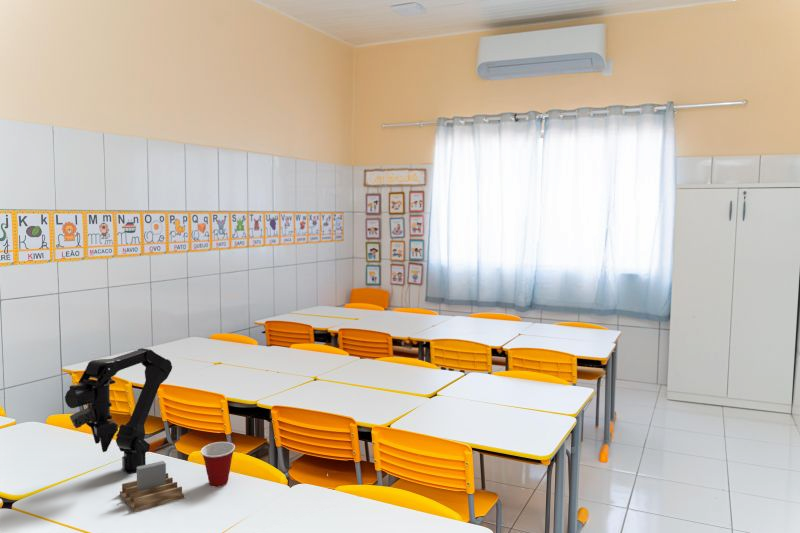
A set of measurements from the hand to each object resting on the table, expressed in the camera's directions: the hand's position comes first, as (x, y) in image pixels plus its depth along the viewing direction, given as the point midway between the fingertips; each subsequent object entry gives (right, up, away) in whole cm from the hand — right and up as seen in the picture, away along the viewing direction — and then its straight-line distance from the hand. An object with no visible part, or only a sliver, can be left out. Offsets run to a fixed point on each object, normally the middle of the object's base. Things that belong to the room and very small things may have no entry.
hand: (100, 447), depth 201 cm
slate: (+19, -12, -8) cm, 24 cm away
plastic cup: (+37, -13, +3) cm, 39 cm away
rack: (+19, -13, -8) cm, 25 cm away
